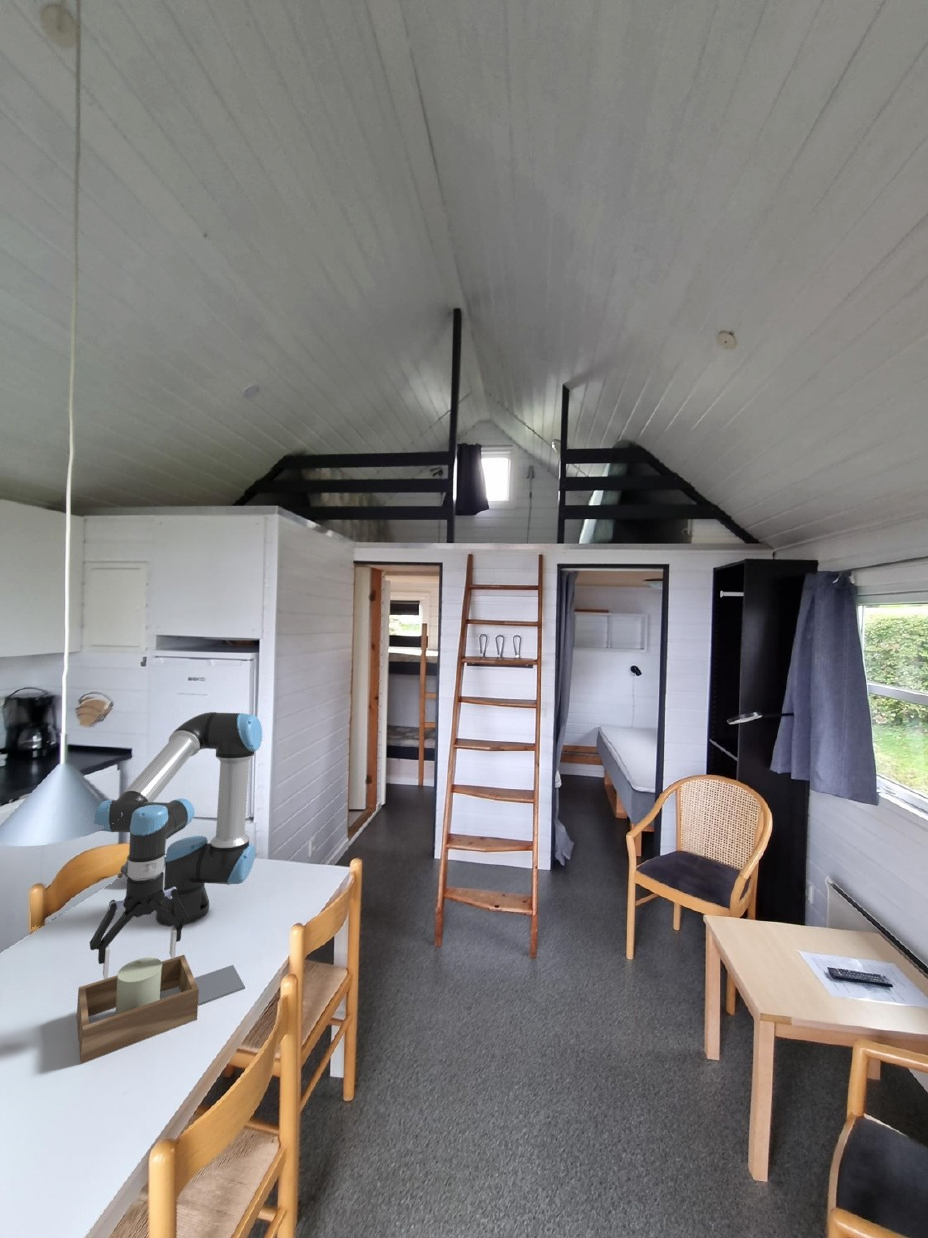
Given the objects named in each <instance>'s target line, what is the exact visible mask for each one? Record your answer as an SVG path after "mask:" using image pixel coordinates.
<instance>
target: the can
mask: <svg viewBox="0 0 928 1238" xmlns="http://www.w3.org/2000/svg"><path fill="white" fill-rule="evenodd" d="M161 970H162V960H160V959H159V958H156V957H142V958H138V959H135V960H132V961H130V962H128V963H126V964H125V965H123V966H122V967H121V968H120V969H119V971H117V974H116V976H117V996H116V1008H115V1012H114V1013H115V1015H118V1014H121V1013H124V1012H126V1011H129V1010H132V1009H135V1008H138V1007H141V1006H144V1005H146V1004H149V1003H152V1002H155V1001H158V1000H161V998H160V997H161V996H160V995H161V992H160V983H161ZM115 1015H114V1016H115Z"/></svg>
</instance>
